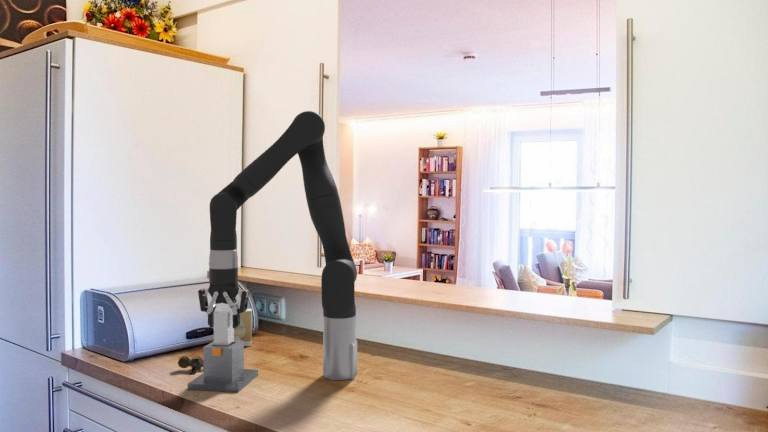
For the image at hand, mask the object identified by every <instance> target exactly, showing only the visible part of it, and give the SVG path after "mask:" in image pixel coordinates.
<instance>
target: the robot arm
mask: <svg viewBox="0 0 768 432" xmlns="http://www.w3.org/2000/svg"><path fill="white" fill-rule="evenodd" d="M325 126H326V124H325V121H324V119H323V117H322V116H321V115H320V114H319V113H317V112H315V111H312V110H307V111H306V110H305V111H303V112H300V113H298V114H296V116H295V117H294V119H293V120H292V122H291V123H290V124H289V126H288V127H287V128H286V130H285V131H284V132H283V133H282V134H281V136H280V137H278V139H276V141H275V142H274V143H273V144H272V145H270V146H269V147H268V148H267V149H266V150H265V151H264V152H262V153H261V154H260V155H258V157H256V159H253V161H252V162H251V163H249V164H248V165H247V166H246V167H245V168H244V169H243V170H242V171H241V172H240V173H238V174H237V175H236V176H235V177H234V179H233V180H232V181H231V182H230V183H228V184H227V185H226V186H225V187H224V188H222V190H220V191H219V192H217V193H216V194H214V195H213V197H211V199H210V202H209V222H210V234H209V236H210V237H209V256H208V257H209V258H208V260H209V261H208V271H209V272H208V276H209V279H208V280H209V282H208V283H209V285H208V286H209V287H208V288H205V287H204V288H201V289H199V290H198V291H197V292H198V293H197V294H198V301H199V307H200V308H199V310H200V311H201V312H205V313H206V314H207V325H208V326H209V328H210V329H211V328H213V329H214V312H215V311H216V309H217V307H218V305H219V304H224V305H225V304H226V305H228V307H229V308H230V309H231V310H232V312H233V314H234V315H233V328H237V327H238V326H239V325H240V314H241V313H243V312H244V311H246V310H247V309H248V305H249V298H250V290H249V289H245V290H244V289H240V287H239V285H238V284H239V256H238V238H237V237H238V236H237V234H238V233H237V216H238V215H237V214H238V210H239V209H240V208H241V207H242V206H243V205H244V204H245V203H246V202H247V201H248V200H249V199H250V198H253V196H255V195H256V194H258V192H259V191H261V190H262V189H263V188H264V187H265V186H266V185H267V184H268V183H269V182H270V181H272V180H273V178H274V177H275V176H277V174H278V173H279V172H280V171H281V169H282V168H284V167H285V166H286V164H287V163H288V162H289V161H290V160H291V159H293V158H294V157H295V156H296V155H297V156H298V158H299V162H300V166H301V170H302V178H303V180H302V181H303V187H304V193H305V198H306V202H307V208H308V212H309V215H310V219H311V221H312V224H313V226H314V229H315V231H316V233H317V235H318V237H319V239H320V242H321V245H322V249H323V254H324V261H325V266H324V267H323V269H322V272H321V308H322V314H323V316H322V322H323V323H322V326H323V328H322V332H323V333H322V339H323V340H322V341H323V342H322V343H323V347H322V349H323V350H322V353H323V354H322V358H323V359H322V362H323V363H322V364H323V365H322V366H323V367H322V372H323V373H322V375H323V378H325V379H327V380H332V381H343V380H344V381H345V380H355V377H356V376H357V373H358V340H357V336H356V334H357V329H356V328H357V327H356V326H357V323H356V321H357V320H356V319H357V318H356V316H357V306H356V301H355V299H356V298H355V283H356V281H357V278H358V271H357V267H356V264H355V261H354V258H353V256H352V255H353V254H352V252H351V250H350V247H349V243H348V242H349V241H348V239H347V233H346V225H345V219H344V215H343V208H342V203H341V199H340V194H339V191H338V187H337V184H336V182H335V179H334V177H333V174H332V172H331V170H330V167H329V165H328V163H327V159H326V153H325V148H324V141H323V140H324V139H323V137H324V135H325V131H326V127H325ZM209 295H210V297H211V300H210V302H209V301H208V300H209V299H208V296H209ZM238 295H239V298H240V304H239V301H238V298H237V296H238Z"/></svg>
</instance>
